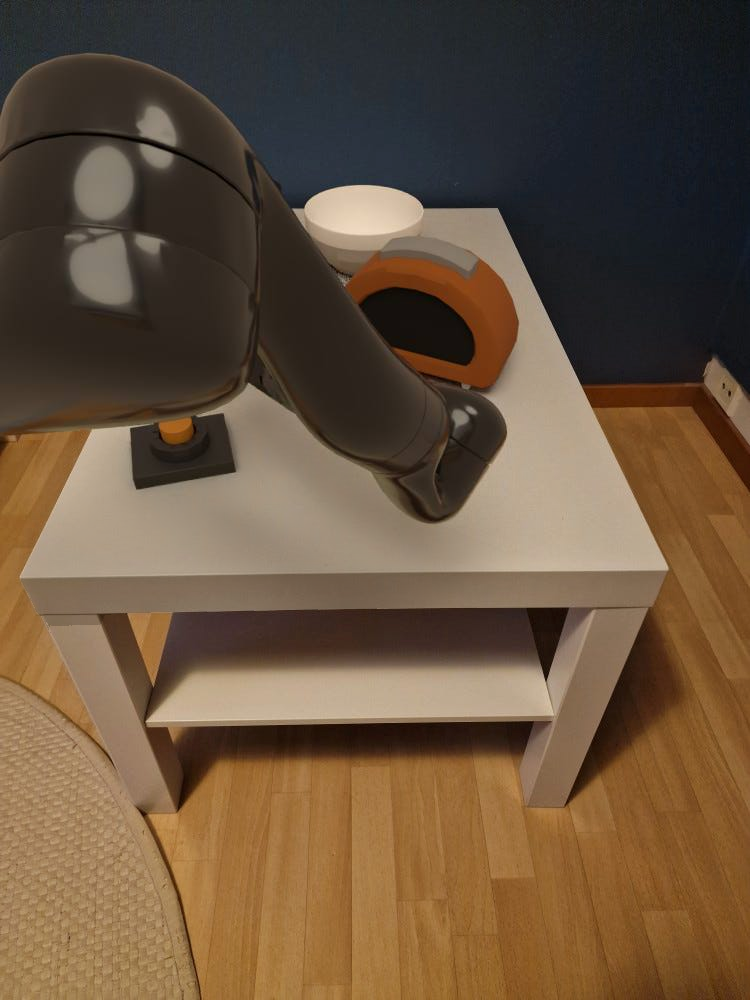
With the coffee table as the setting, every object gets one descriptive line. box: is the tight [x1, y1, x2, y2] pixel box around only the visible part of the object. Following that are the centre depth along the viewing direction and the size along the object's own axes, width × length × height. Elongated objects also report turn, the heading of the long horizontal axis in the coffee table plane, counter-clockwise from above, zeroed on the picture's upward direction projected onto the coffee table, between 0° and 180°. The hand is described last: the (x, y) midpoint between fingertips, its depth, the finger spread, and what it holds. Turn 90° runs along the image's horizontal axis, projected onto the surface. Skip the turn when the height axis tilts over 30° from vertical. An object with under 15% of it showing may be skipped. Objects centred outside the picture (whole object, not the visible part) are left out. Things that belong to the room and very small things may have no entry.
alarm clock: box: [344, 235, 520, 390], centre depth 88 cm, size 23×9×17 cm, turn 66°
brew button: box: [159, 417, 194, 444], centre depth 77 cm, size 4×4×2 cm
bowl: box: [303, 184, 425, 277], centre depth 111 cm, size 19×19×9 cm
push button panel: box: [129, 412, 236, 490], centre depth 79 cm, size 11×9×4 cm
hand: (188, 296), depth 69 cm, fingers closed on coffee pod, 4 cm apart
